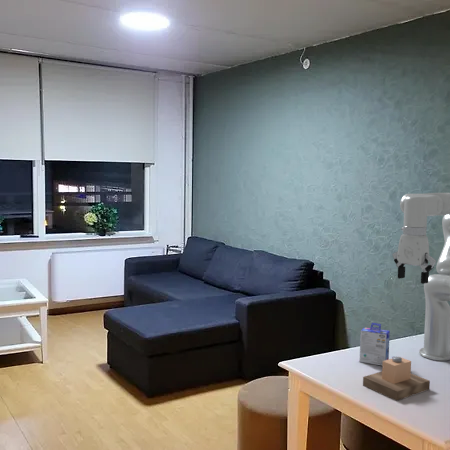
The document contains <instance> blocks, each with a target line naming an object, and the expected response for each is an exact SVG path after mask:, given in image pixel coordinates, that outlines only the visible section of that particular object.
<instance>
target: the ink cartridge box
mask: <svg viewBox="0 0 450 450" xmlns="http://www.w3.org/2000/svg"><path fill="white" fill-rule="evenodd" d="M376 326H378V327H376ZM381 327H382V323H377V322H371V324H370V327H363V328H362V329H361V330H360V339H359V361H358V362H360V363H366V364H371V365H377V366H383V361H385V360H389V359H390V358H389V357H390V336H391V335H390V330H387V329H382V328H381Z"/></svg>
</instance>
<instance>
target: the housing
mask: <svg viewBox="0 0 450 450" xmlns="http://www.w3.org/2000/svg"><path fill="white" fill-rule="evenodd" d="M381 366H382V365H381ZM381 371H382V379H384V380H386V381H389V382H391V383H393V384H395V383H398V382H402V381H405V380H408V379H410V378H411V374H412V361H411V360H409V359H406V358H404V357H401V356H392V358H389V360H385V361H383V366H382V370H381Z"/></svg>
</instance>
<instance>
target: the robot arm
mask: <svg viewBox="0 0 450 450" xmlns="http://www.w3.org/2000/svg"><path fill="white" fill-rule="evenodd" d="M399 207H400V210H401V211H402V213H403V226H402V227H401V228H400V229H401V231H402V234H401V235H400V238H399V240H398V241H399V242H398V247H397V248H398V249H397V251H395V252H393V253H392V257H393V262H394V263H395V266H396V268H397V279H405V277H406V265H409V266H415V267H420V269H421V273H420V283H421V284H422V285H423V291H424V298H425V299H424V300H425V313H424V332H423V333H424V334H423V335H424V336H423V338H424V339H423V347H422V348H420V349H419V350H418V351H419V352H418V354H419V355H420V356H421V357H424V358H426V359H428V360H434V361H442V362H444V361H445V362H446V361H450V304H449V302H450V192H426V193H405V194H404V195H402V198H401V199H400V203H399ZM436 216H441V217H442V219H441V223H442V224H441V225H442V233H443V240H444V244H443V248H442V250H441V252H440V254H439V258H438V259H437V260H436V259H435V258H434V257H432V256H431V255H430V246H429V238H428V236H427V227H428V226H427V223H428V222H427V221H428V217H436ZM435 267H436V268H435ZM434 268H435V269H436V272H437V273H438V274H437V273H434V274H430V272H431V271H432V270H433V269H434Z"/></svg>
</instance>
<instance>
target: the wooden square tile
mask: <svg viewBox="0 0 450 450" xmlns="http://www.w3.org/2000/svg"><path fill="white" fill-rule="evenodd" d="M362 378H363V379H362V386H364V387H366V388H368V389H370V390H372V391H373V392H374V391H375V392H377V393H379V394H381V395H383V396H385V397H387V398H389V399H390V398H391V399H392V400H395V401H400V400H403V399H406V398H409V397H411V396H412V397H413V396H415V395H417V394H421V393H424V392H426V391H430V382H431V381H430V380H429V379H427V378H423V377H422V376H419V375H416V374H414V373H411V378H410V379H408V380H405V381H402V382H398V383H395V384H393V383H391V382H389V381H386V380H384V379H382V370H380V371H378V372H375V373H372V374H368V375H365V376H362Z"/></svg>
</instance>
